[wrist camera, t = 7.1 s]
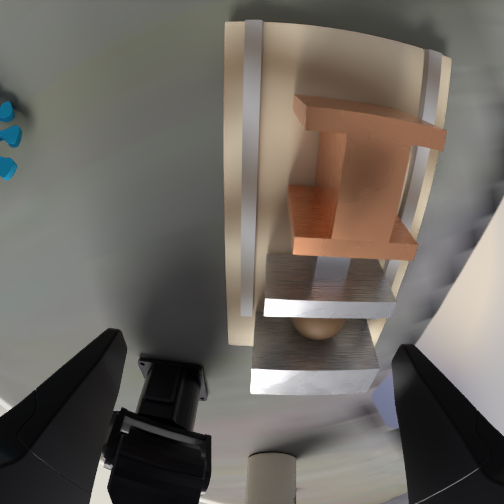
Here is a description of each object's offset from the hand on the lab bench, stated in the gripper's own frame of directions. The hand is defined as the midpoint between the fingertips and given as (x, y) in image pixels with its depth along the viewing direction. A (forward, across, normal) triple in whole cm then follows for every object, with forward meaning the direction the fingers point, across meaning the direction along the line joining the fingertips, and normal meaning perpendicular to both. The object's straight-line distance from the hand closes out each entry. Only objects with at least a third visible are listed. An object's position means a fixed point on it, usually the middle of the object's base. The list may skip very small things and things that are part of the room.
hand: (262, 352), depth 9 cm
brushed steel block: (+10, -4, +9) cm, 14 cm away
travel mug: (+12, -4, +44) cm, 46 cm away
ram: (+9, -4, -1) cm, 10 cm away
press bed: (+11, -4, 0) cm, 12 cm away
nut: (+10, -4, +5) cm, 12 cm away
